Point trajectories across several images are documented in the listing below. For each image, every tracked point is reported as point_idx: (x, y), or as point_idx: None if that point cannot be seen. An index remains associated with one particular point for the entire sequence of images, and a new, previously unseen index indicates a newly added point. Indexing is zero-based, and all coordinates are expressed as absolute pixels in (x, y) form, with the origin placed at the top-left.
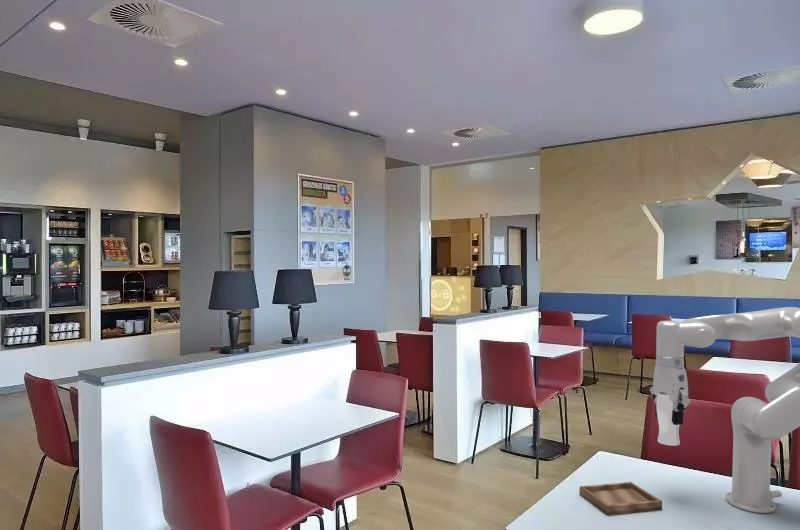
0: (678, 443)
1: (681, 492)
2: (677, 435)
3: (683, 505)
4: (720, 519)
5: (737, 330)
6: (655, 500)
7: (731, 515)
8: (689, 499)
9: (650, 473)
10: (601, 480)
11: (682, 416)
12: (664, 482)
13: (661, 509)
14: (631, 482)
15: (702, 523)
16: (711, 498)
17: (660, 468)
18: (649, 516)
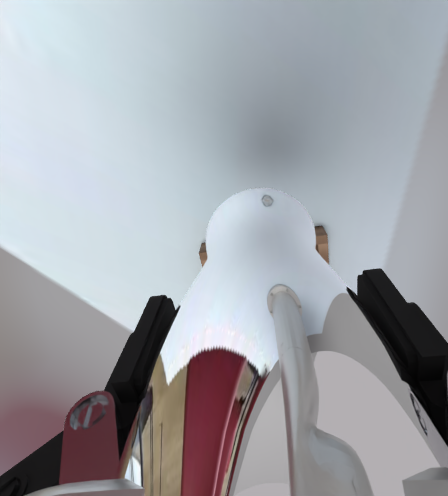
0: (310, 217)
1: (216, 101)
2: (311, 238)
3: (304, 151)
4: (407, 90)
5: None
6: (320, 249)
7: (393, 27)
8: (267, 105)
9: (69, 122)
10: (146, 284)
11: (440, 336)
12: (139, 114)
13: (322, 227)
14: (202, 253)
15: (412, 163)
16: (265, 12)
17: (9, 55)
18: (347, 270)
